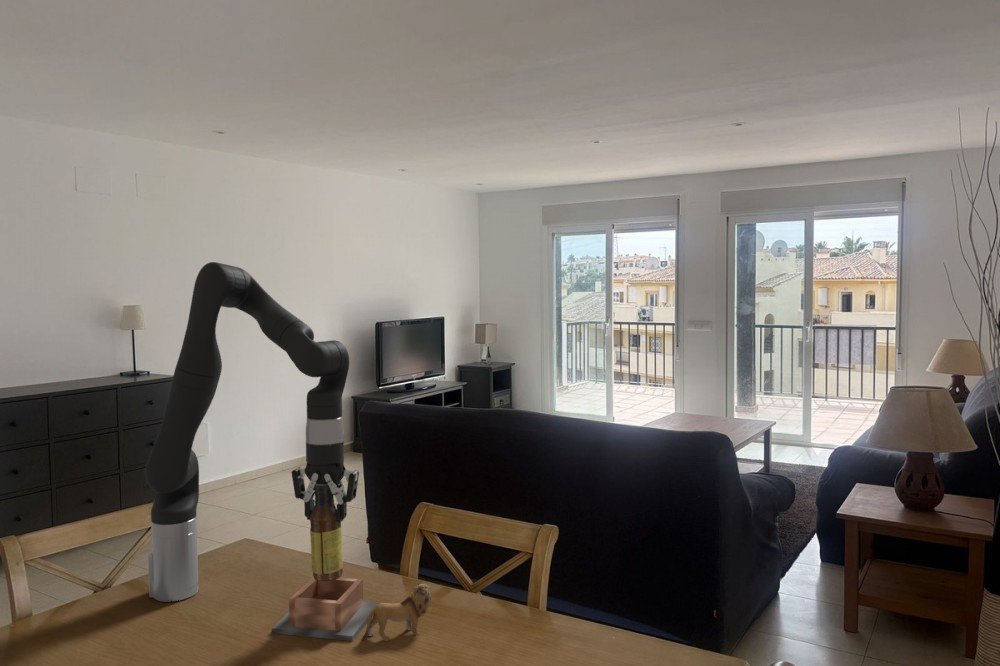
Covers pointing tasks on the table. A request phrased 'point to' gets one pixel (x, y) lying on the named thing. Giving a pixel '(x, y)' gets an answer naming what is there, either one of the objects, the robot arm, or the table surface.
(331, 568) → the sauce bottle
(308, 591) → the bottle holder
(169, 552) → the robot arm
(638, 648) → the table surface
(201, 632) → the table surface
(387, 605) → the lion figurine
